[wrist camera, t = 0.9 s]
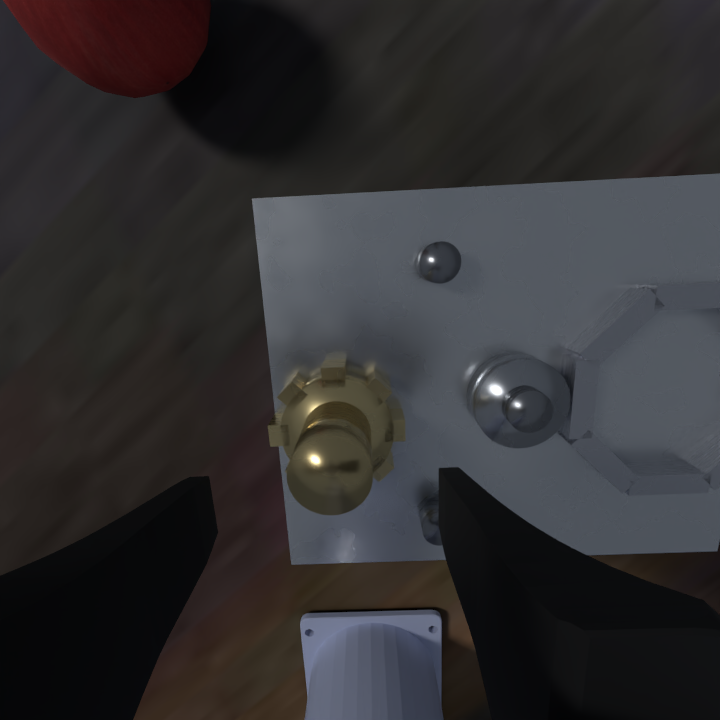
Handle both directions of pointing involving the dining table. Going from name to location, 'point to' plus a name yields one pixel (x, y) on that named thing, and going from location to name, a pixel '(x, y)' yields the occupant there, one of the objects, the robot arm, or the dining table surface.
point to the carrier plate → (489, 312)
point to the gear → (336, 436)
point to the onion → (119, 40)
